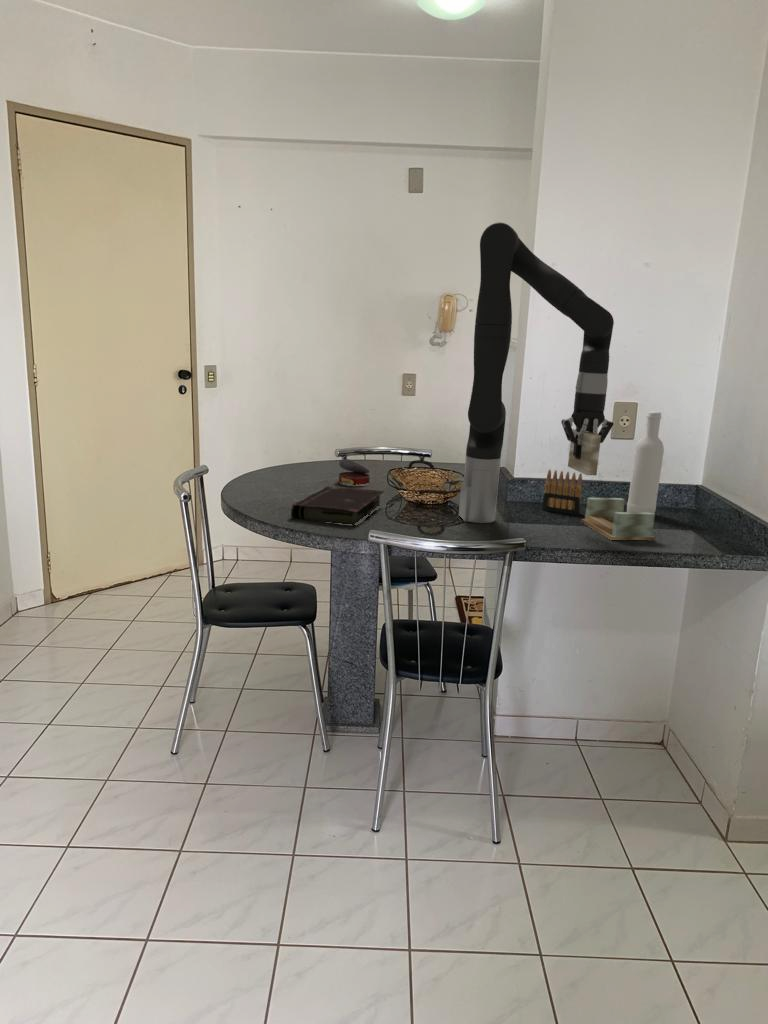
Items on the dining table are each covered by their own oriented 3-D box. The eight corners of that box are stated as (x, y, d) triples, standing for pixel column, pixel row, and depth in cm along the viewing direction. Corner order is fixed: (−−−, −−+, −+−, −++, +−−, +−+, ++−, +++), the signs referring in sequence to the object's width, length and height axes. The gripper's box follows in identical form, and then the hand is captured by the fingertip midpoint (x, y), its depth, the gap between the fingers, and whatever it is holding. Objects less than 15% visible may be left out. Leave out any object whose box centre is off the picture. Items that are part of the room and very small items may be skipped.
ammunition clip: (541, 509, 220) (545, 469, 217) (542, 508, 222) (547, 468, 219) (578, 515, 216) (583, 473, 214) (579, 513, 218) (584, 472, 215)
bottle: (642, 510, 227) (656, 410, 219) (660, 517, 219) (675, 413, 212) (620, 511, 224) (634, 410, 216) (638, 518, 217) (652, 413, 209)
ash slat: (587, 475, 188) (591, 435, 186) (567, 466, 200) (571, 428, 197) (596, 475, 189) (601, 435, 186) (576, 466, 200) (580, 428, 198)
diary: (289, 521, 195) (290, 502, 193) (324, 502, 218) (324, 484, 217) (358, 529, 190) (359, 510, 189) (386, 508, 213) (386, 491, 212)
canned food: (337, 496, 243) (330, 467, 245) (365, 492, 247) (358, 463, 249) (348, 487, 233) (341, 456, 235) (378, 482, 237) (370, 452, 239)
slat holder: (610, 540, 191) (614, 513, 189) (581, 522, 208) (584, 497, 206) (654, 540, 193) (658, 514, 191) (621, 522, 210) (624, 498, 208)
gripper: (570, 391, 185) (563, 461, 189) (623, 393, 187) (615, 462, 191) (559, 388, 192) (551, 456, 196) (610, 390, 194) (602, 457, 198)
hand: (583, 458), depth 194 cm, fingers closed on ash slat, 2 cm apart
